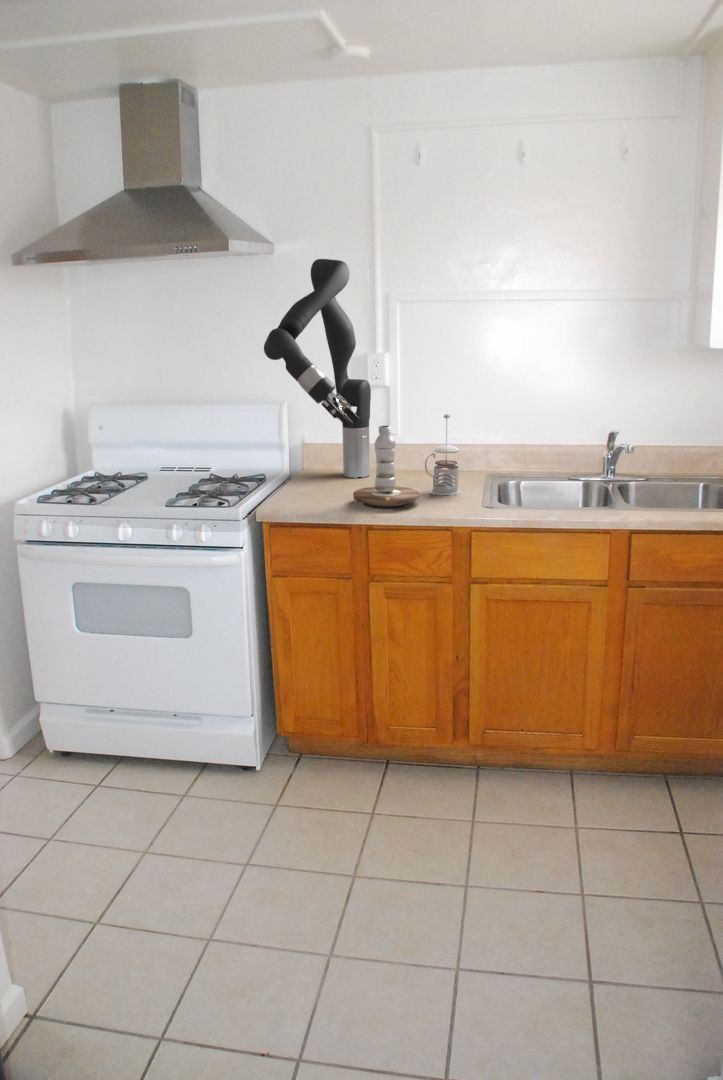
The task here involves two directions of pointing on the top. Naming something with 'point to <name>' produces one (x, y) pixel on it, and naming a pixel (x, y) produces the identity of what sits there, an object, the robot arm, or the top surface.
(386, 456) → the plastic bottle
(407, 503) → the turntable base
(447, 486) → the french press
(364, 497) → the turntable platter
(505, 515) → the top surface
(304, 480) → the top surface
